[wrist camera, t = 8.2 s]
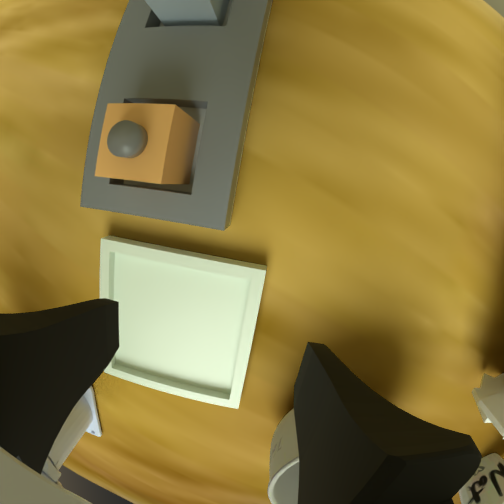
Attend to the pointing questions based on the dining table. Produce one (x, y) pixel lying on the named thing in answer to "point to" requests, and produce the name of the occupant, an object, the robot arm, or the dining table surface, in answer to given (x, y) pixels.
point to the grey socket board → (189, 100)
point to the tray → (181, 318)
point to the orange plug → (147, 143)
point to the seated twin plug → (190, 12)
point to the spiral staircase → (491, 400)
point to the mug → (485, 483)
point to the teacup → (284, 463)
